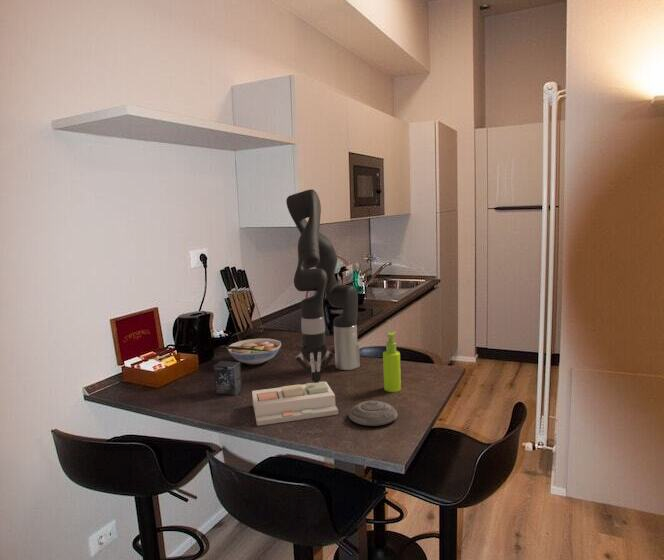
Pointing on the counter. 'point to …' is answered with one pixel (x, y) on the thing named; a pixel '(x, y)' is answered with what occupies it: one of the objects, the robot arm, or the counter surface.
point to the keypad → (293, 406)
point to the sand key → (292, 391)
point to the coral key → (267, 396)
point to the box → (227, 378)
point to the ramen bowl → (253, 350)
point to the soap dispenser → (391, 366)
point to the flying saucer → (372, 413)
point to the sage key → (316, 388)
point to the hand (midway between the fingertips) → (315, 382)
